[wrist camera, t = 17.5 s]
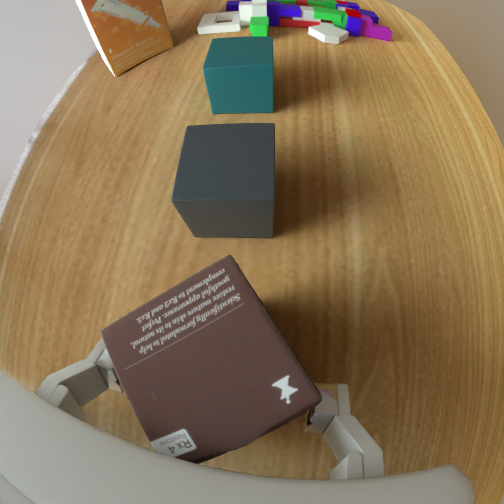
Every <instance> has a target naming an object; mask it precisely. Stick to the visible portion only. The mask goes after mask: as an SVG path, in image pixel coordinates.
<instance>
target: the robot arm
mask: <svg viewBox="0 0 504 504" xmlns="http://www.w3.org/2000/svg"><path fill="white" fill-rule="evenodd" d="M314 384H315V385H316V387H317V388H318V390H319V392H320V393H321V395H322V401H321V402H320V403H319V404H318V405H317V406H316V407H314V408H312V409H311V410H309V411H307V412H306V414H307V415H306V417H305V420H304V433H314V434H323V437H324V439H325V440H326V442H327V444H328V445H329V447H330V449H331V450H332V452H333V454H334V455H335V457H336V459H337V460H338V462H339V464H338V465H337V466H336V467H335V468H334V469H332V470H331V471H330V472H329V480H314V479H291V478H278V477H268V476H260V475H252V474H245V473H239V472H233V471H228V470H223V469H218V468H213V467H208V466H204V465H200V464H196V463H192V462H188V461H184V460H181V459H177V458H174V457H170V456H167V455H164V454H161V453H158V452H155V451H152V450H149V449H146V448H143V447H141V446H138V445H135V444H133V443H130V442H128V441H125V440H123V439H120V438H118V437H115V436H113V435H111V434H109V433H106V432H104V431H102V430H100V429H98V428H96V427H94V426H91V425H89V424H87V423H85V422H84V420H85V418H86V413H85V412H84V411H83V409H82V408H81V406H83V405H84V404H86V403H88V402H89V401H91V400H92V399H94V398H95V397H97V396H98V395H100V394H101V393H103V392H104V391H106V390H107V389H108V388H109V389H112V390H115V391H117V392H120V393H123V392H124V390H123V387H122V385H121V383H120V381H119V379H118V376H117V374H116V372H115V369H114V367H113V364H112V362H111V359H110V357H109V354H108V352H107V349H106V347H105V344H104V341H103V338H102V339H101V340H100V341H99V342H98V344H97V345H96V346H95V348H94V349H93V350H92V352H91V353H90V355H89V356H88V357H87V359H86V360H84V359H83V360H81V361H79V362H76V363H74V364H72V365H70V366H68V367H66V368H63V369H61V370H59V371H57V372H55V373H52V374H50V375H48V376H47V377H46V378H45V380H44V381H43V382H42V384H41V385H40V387H39V388H38V389H37V391H36V392H35V393H34V392H32V391H31V390H29V389H28V388H26V387H25V386H24V385H22V384H21V383H19V382H18V381H17V380H15V379H14V378H12V377H11V376H10V375H8V374H7V373H6V372H5V371H3V370H2V369H1V368H0V504H475V500H474V490H473V485H472V482H471V480H470V479H469V478H468V476H467V475H466V474H464V473H463V472H462V471H461V470H460V469H459V468H458V467H457V466H455V465H453V464H447V465H442V466H438V467H434V468H430V469H425V470H420V471H415V472H409V473H403V474H397V475H389V476H385V470H384V458H383V450H382V449H381V448H380V447H379V446H378V444H377V443H376V442H375V441H374V440H373V438H372V437H371V436H370V435H369V433H368V432H367V431H366V430H365V429H364V427H363V426H362V425H361V424H360V422H359V421H358V420H357V419H356V417H355V416H351V411H350V399H349V389H348V385H347V384H335V383H320V382H314Z"/></svg>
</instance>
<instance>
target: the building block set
mask: <svg viewBox="0 0 504 504" xmlns="http://www.w3.org/2000/svg"><path fill="white" fill-rule="evenodd" d="M226 9H227V11H233V12H219V13H209V14H204V15H203V17H202V19H201V21H200V23H199V25H198V27H197V29H198V34H199V35H200V34H210V33H221V32H237V31H240V29H241V26H250V32H252V37H259V36H267V32H269V26H279V25H280V26H290V27H306V28H309V30H308V34H309V35H311V36H313V37H315V38H317V39H318V40H320V41H322V42H324V43H330V44H340V43H341V42H343V41H345V40H346V39H348V35H351V36H356V37H358V36H359V35H363V36H368V37H373V38H377V39H381V40H386V41H390V38H391V35H392V31H391V30H390V29H389V27H386V26H382V25H378V20H379V17H378V16H377V15H376V14H375V12H371V11H367V10H362V9H359V6H358V4H357V3H352V2H346V1H345V0H324V1H323V0H237V1H228V2H227V4H226ZM225 20H232V22H227V23H217V21H225ZM372 22H373V23H372ZM374 23H377V24H374Z"/></svg>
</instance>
